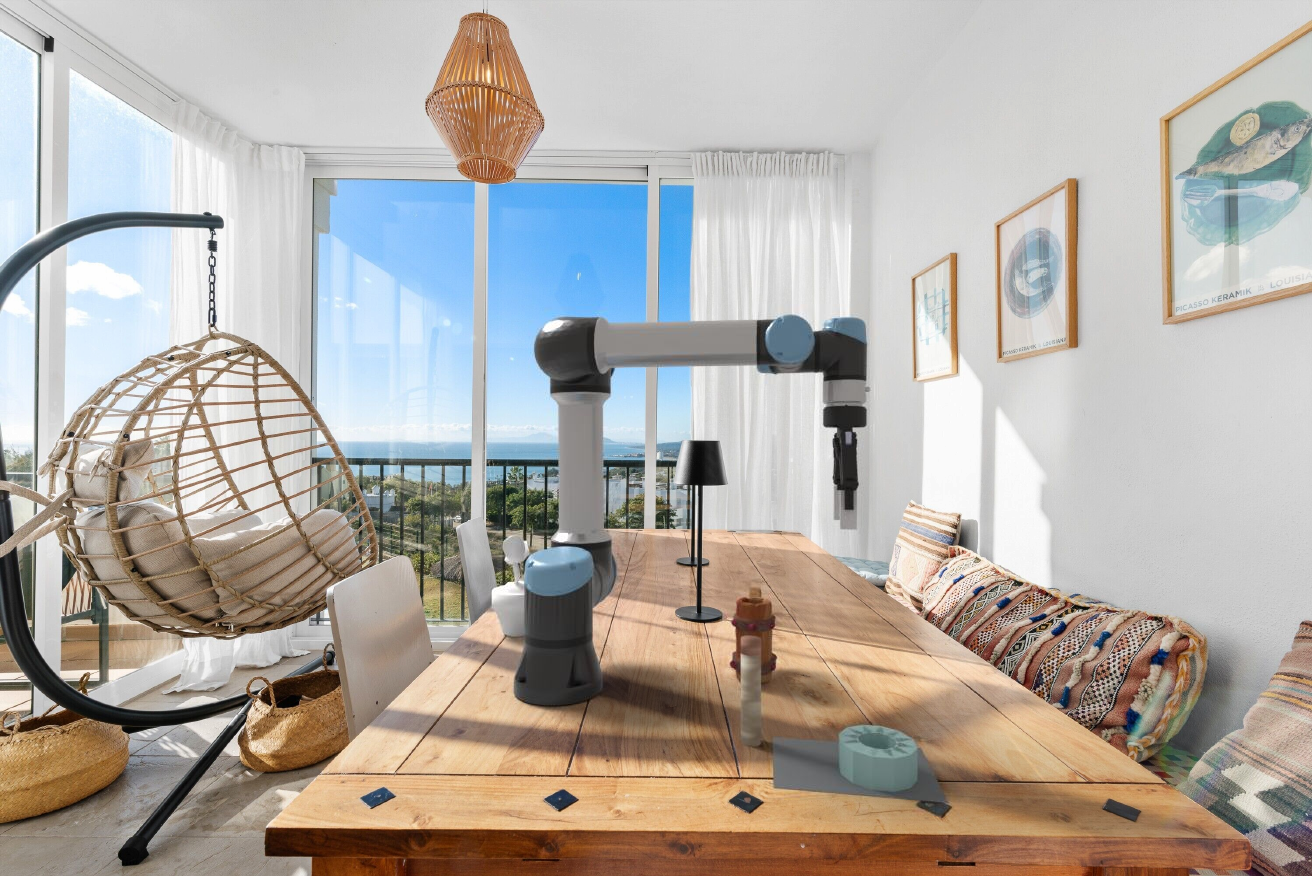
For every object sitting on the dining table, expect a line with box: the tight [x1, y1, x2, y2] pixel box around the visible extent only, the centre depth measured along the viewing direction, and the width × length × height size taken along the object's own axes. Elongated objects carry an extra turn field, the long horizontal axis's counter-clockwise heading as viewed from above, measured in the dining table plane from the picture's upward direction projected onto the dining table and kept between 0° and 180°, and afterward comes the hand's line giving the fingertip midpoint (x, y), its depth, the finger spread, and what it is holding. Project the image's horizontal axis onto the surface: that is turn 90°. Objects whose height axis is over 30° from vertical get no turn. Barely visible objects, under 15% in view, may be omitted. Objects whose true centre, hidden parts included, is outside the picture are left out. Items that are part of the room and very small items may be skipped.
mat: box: [771, 736, 949, 804], centre depth 86 cm, size 20×14×1 cm
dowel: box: [740, 636, 762, 748], centre depth 93 cm, size 3×3×15 cm
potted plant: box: [491, 523, 541, 638], centre depth 148 cm, size 13×12×25 cm
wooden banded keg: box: [729, 586, 778, 684], centre depth 121 cm, size 15×8×15 cm, turn 168°
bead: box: [838, 724, 919, 792], centre depth 84 cm, size 9×9×4 cm
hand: (844, 524), depth 119 cm, fingers open, 13 cm apart
